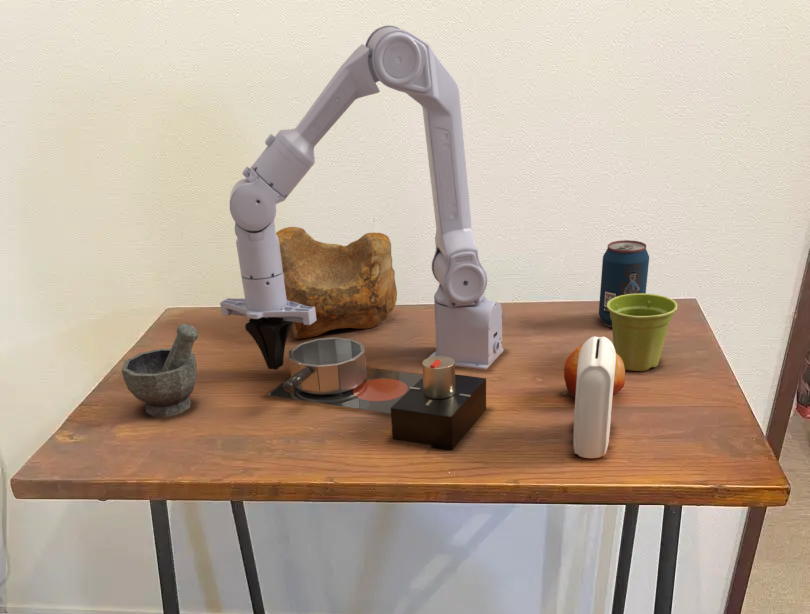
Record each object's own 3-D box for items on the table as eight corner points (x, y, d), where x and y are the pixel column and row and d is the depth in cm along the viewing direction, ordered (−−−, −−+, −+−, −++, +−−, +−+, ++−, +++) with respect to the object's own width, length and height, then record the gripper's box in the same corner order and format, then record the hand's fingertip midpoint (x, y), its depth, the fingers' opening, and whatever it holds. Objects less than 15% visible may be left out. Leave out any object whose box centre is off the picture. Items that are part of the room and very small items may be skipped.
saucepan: (316, 364, 130) (312, 334, 128) (379, 372, 126) (376, 341, 124) (256, 409, 118) (250, 377, 115) (324, 420, 114) (320, 387, 111)
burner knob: (431, 384, 111) (429, 352, 109) (460, 387, 110) (459, 355, 108) (418, 396, 108) (416, 363, 106) (448, 400, 107) (447, 367, 105)
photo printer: (575, 420, 111) (581, 326, 104) (610, 422, 110) (618, 327, 103) (570, 459, 102) (575, 359, 96) (607, 461, 102) (615, 360, 95)
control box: (429, 401, 118) (428, 369, 115) (487, 410, 115) (487, 376, 112) (391, 440, 109) (389, 406, 106) (452, 450, 106) (451, 415, 103)
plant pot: (672, 377, 120) (679, 316, 115) (601, 375, 122) (606, 315, 117) (668, 352, 128) (675, 293, 123) (603, 350, 129) (607, 292, 125)
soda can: (615, 311, 143) (621, 236, 136) (651, 320, 139) (659, 243, 132) (589, 323, 139) (594, 246, 133) (625, 333, 135) (632, 254, 128)
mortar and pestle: (121, 422, 118) (99, 337, 111) (149, 393, 125) (130, 312, 119) (199, 425, 116) (182, 338, 109) (223, 395, 123) (208, 312, 117)
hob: (267, 396, 122) (267, 394, 122) (313, 362, 132) (313, 360, 132) (403, 417, 114) (403, 415, 114) (441, 379, 124) (441, 377, 124)
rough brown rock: (242, 351, 139) (228, 259, 130) (267, 307, 152) (255, 221, 143) (387, 355, 137) (382, 261, 127) (399, 310, 150) (396, 222, 140)
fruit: (574, 366, 121) (603, 325, 115) (613, 406, 119) (644, 367, 113) (538, 385, 117) (566, 343, 110) (578, 427, 115) (608, 387, 108)
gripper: (201, 277, 119) (218, 371, 127) (292, 286, 114) (304, 383, 121) (230, 263, 124) (245, 353, 132) (319, 270, 119) (329, 364, 126)
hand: (275, 366), depth 127 cm, fingers closed
